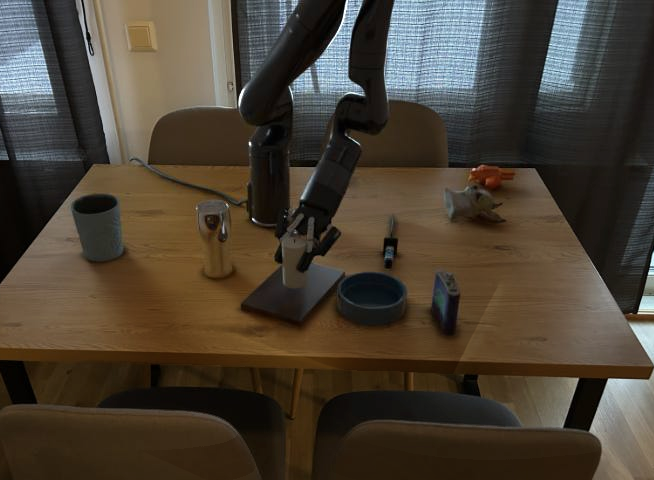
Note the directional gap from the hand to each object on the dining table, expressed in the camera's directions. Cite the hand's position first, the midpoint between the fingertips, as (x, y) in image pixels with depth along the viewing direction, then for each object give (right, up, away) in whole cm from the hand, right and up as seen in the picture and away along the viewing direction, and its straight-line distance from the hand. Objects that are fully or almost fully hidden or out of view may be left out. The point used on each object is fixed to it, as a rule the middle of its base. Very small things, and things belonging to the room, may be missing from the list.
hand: (289, 266), depth 124 cm
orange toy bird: (+53, +24, +48) cm, 76 cm away
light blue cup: (-41, +4, +19) cm, 46 cm away
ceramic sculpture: (+44, +14, +32) cm, 56 cm away
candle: (+1, -3, +4) cm, 5 cm away
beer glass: (-15, 0, +12) cm, 20 cm away
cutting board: (+1, -5, +5) cm, 7 cm away
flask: (+29, -11, -3) cm, 31 cm away
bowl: (+16, -8, +1) cm, 18 cm away
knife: (+23, +5, +20) cm, 31 cm away
